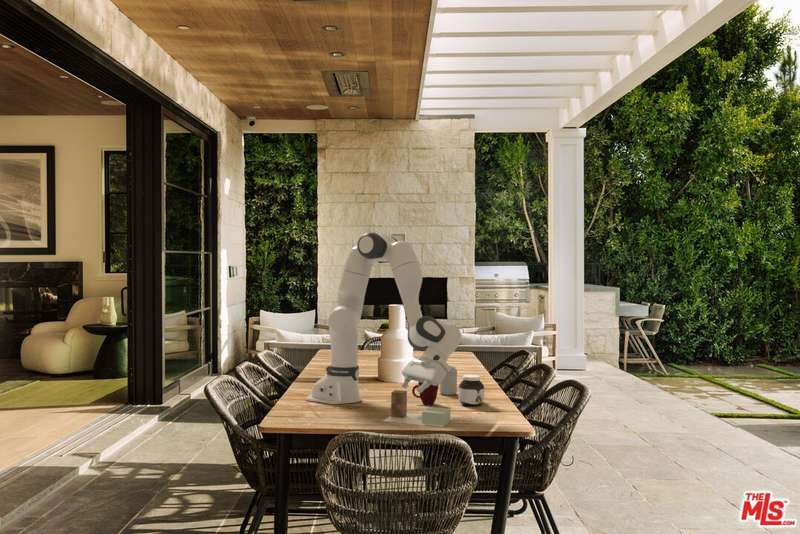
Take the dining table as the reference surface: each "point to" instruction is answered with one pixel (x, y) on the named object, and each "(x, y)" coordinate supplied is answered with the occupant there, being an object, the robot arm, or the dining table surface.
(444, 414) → the base block
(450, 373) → the can
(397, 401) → the pillar
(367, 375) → the dining table surface
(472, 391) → the spread jar
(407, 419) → the tile
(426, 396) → the mug
